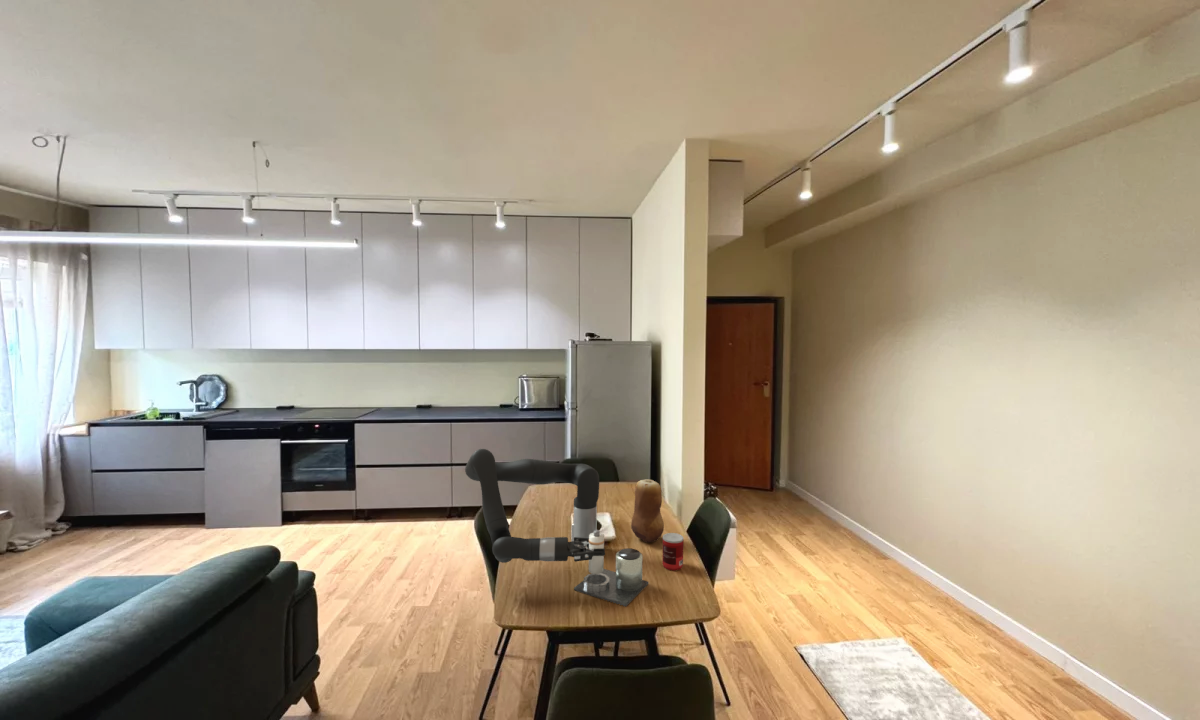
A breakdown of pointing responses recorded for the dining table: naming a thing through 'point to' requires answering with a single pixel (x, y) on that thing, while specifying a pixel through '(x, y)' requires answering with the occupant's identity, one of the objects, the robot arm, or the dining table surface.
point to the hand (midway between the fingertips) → (604, 548)
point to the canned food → (672, 551)
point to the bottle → (597, 561)
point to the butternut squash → (647, 511)
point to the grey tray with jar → (617, 579)
